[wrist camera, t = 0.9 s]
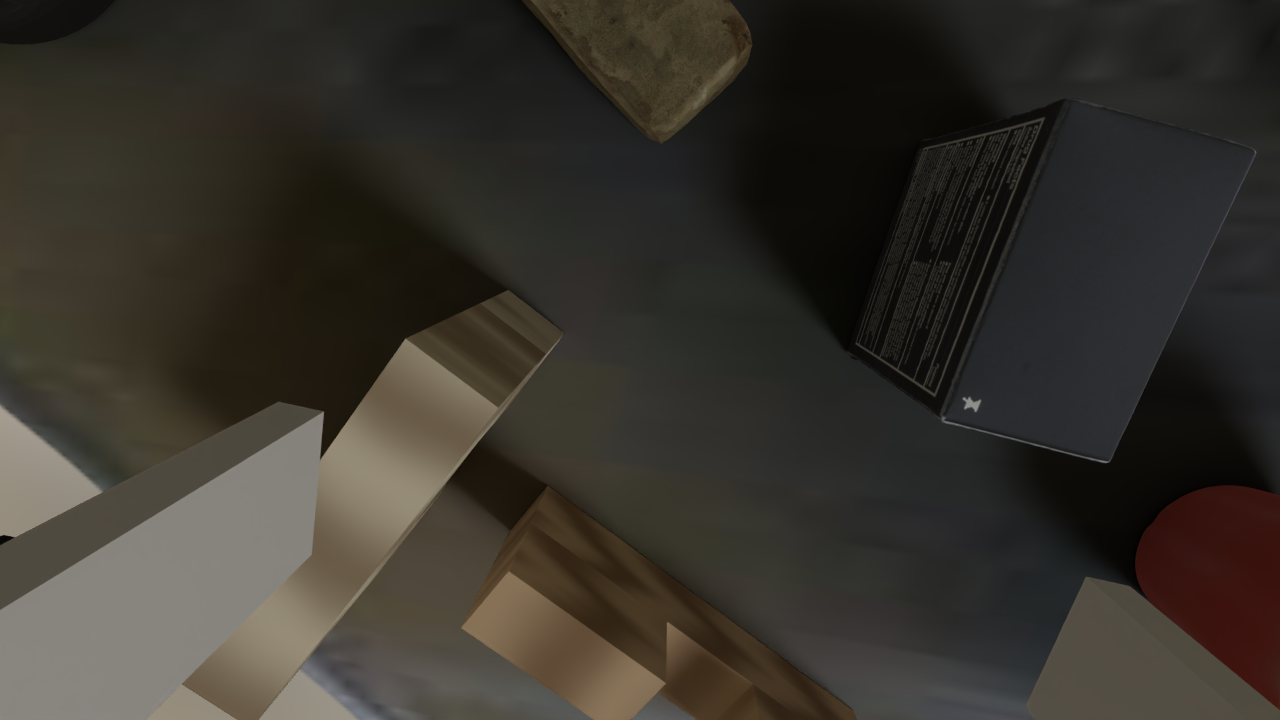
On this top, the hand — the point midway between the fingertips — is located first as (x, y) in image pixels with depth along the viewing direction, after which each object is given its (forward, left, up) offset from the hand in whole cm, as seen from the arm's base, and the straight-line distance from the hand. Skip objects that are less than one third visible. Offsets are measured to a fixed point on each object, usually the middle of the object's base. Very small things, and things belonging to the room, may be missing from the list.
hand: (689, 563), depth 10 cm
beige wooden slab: (-6, -12, -21) cm, 24 cm away
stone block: (-11, +10, -21) cm, 25 cm away
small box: (+8, +10, -21) cm, 24 cm away
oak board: (+11, -13, -20) cm, 26 cm away
